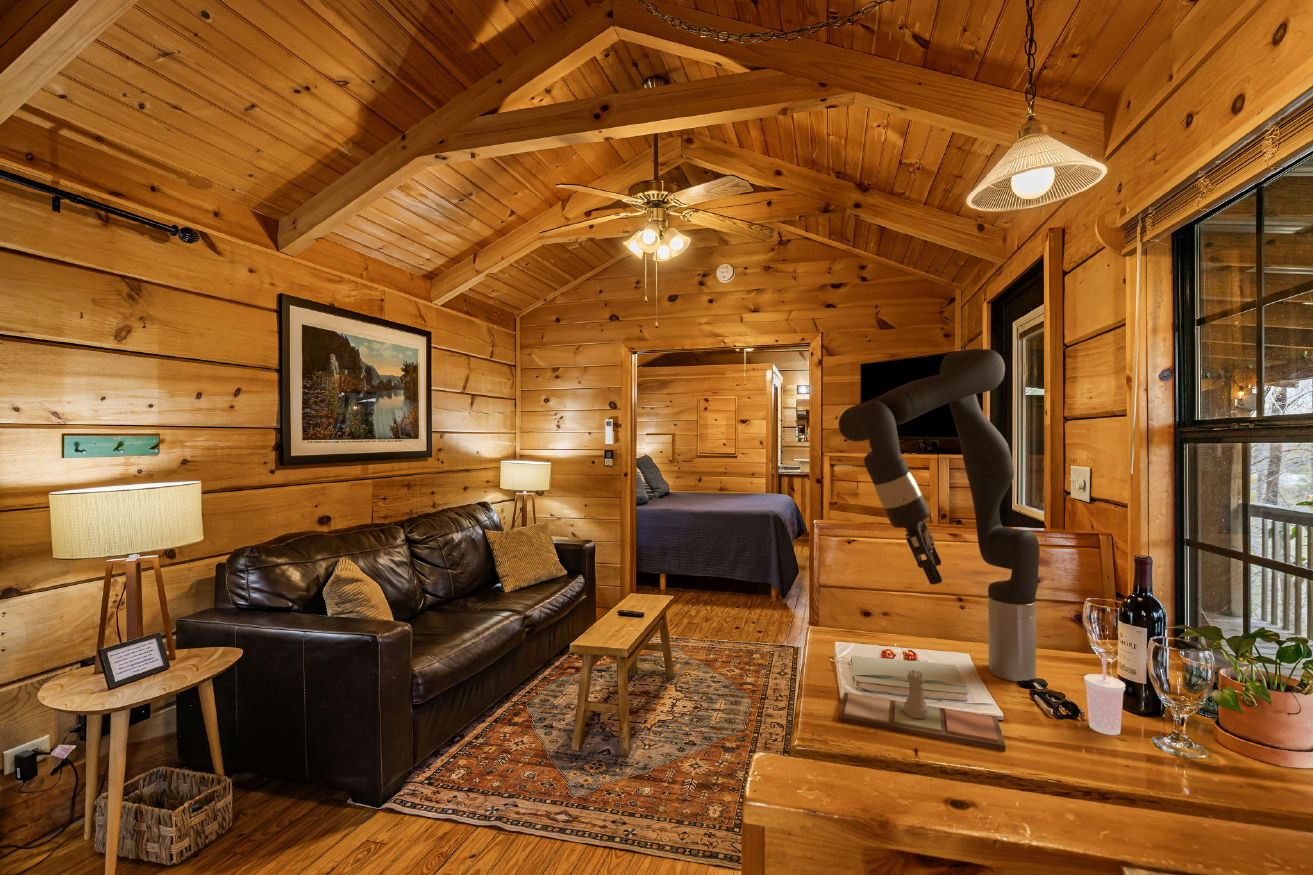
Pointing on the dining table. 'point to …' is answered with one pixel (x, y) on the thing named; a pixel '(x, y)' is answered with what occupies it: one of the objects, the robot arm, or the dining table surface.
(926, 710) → the rook chess piece
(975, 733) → the tile board
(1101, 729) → the beverage cup
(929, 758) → the dining table surface
